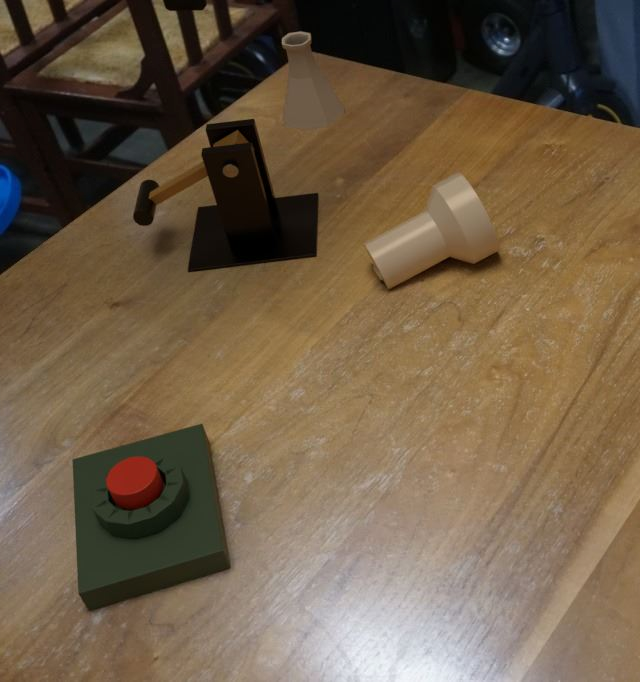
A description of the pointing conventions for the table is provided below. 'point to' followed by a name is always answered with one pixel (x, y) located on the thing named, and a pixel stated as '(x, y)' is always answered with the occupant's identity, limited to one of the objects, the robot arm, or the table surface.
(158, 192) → the hammer
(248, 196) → the bracket
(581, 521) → the table surface
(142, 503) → the button
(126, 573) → the control box
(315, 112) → the flask
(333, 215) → the table surface
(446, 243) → the spotlight
